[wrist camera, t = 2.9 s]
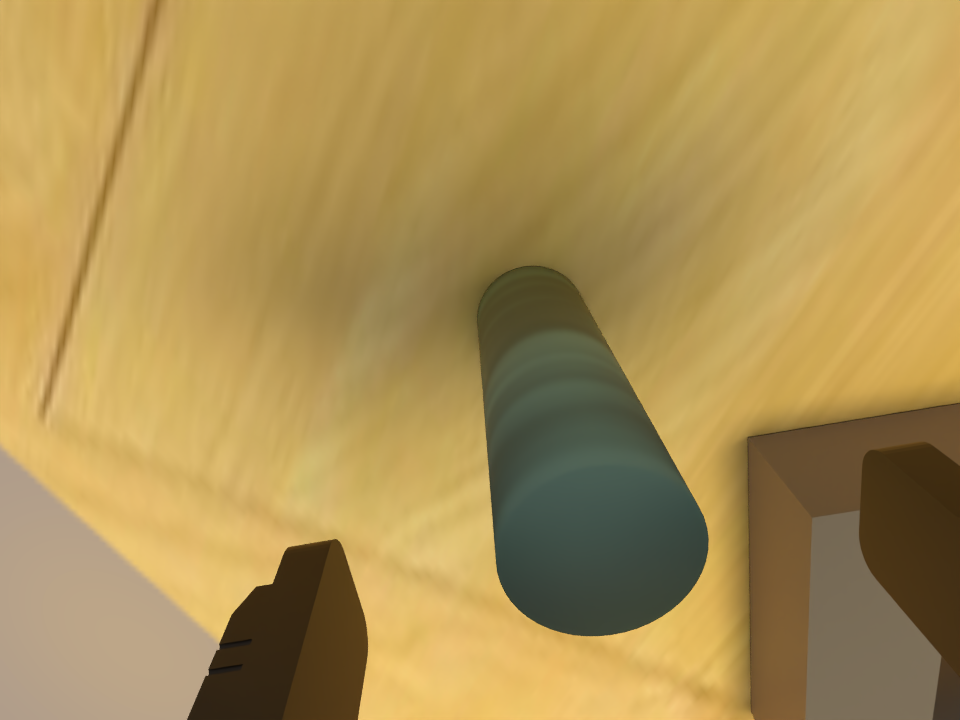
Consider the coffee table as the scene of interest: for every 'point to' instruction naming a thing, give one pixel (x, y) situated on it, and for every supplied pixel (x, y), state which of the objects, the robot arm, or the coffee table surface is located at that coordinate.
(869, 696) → the hole block
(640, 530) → the peg
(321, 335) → the coffee table surface
